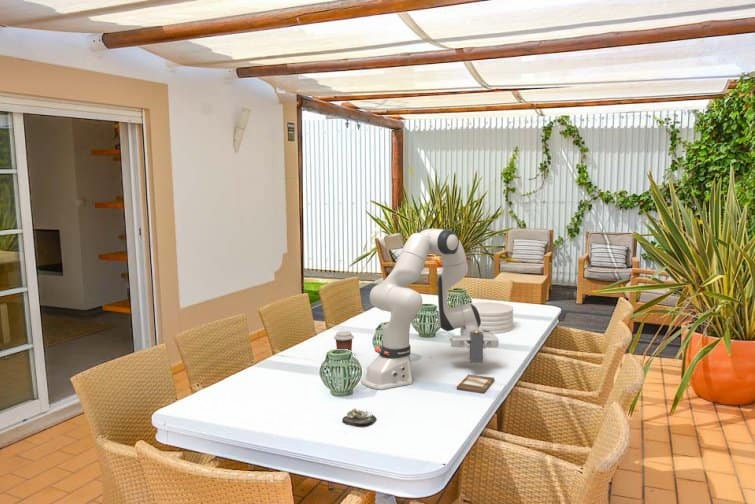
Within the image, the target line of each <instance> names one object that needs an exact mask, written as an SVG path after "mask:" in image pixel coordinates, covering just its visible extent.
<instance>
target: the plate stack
mask: <svg viewBox="0 0 755 504" xmlns="http://www.w3.org/2000/svg"><path fill="white" fill-rule="evenodd" d="M466 304H467V303H466ZM466 304H464V305H466ZM468 304H472V305H474V306H475V307H476V308H477V310H478V313H479V315H480V320H481V324H480V326H479V327H478V328H479V329H481V330H485V331H491V332H492V333H493V334H494V335H499V334H505V333H510V332H512V331H513V329H514V326H513V325H514V307H513V306H511V305H509V304H505V303H500V302H489V301H487V302H485V301H484V302H483V301H481V302H480V301H479V302H469V303H468Z"/></svg>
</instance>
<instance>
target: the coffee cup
mask: <svg viewBox="0 0 755 504" xmlns="http://www.w3.org/2000/svg"><path fill="white" fill-rule="evenodd" d="M333 336H334V340H335V347H336V350H337V349H348V350H351V351H352V349H353V339H354V337H355V336H354V335H353V334H352V331H350V330H341V331H337V332H336V334H335V335H333Z"/></svg>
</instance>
